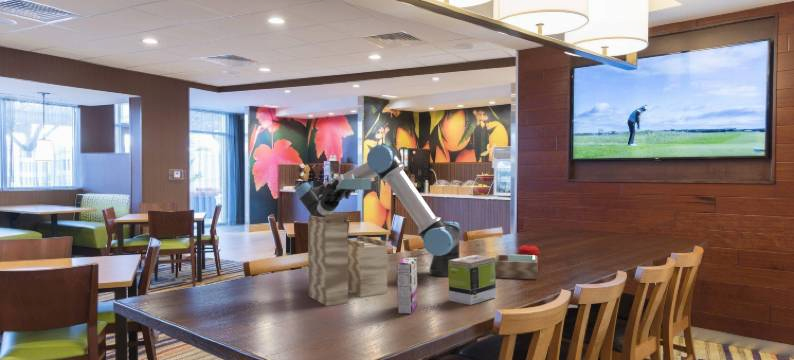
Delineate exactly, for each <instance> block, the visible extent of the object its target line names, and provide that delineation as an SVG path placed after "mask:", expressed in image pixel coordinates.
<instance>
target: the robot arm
mask: <svg viewBox="0 0 794 360" xmlns="http://www.w3.org/2000/svg"><path fill="white" fill-rule="evenodd" d="M402 157H403V156H402V154H401V152H400V150H399V149H398V148H396V147H395V146H392V145H391V146H390V145H386V144H379V145H375V146H373V147H372V148H371V149H370V150H369V151H368V153H367V155H366V162H365V163H363V164H361V165H359V166H357V167H354V168H353V169H351V170H349V171H347V172H345V173H340V174H339V176H337V177H335V178H334V179H337V180H335V181H334V183H332V179H331V180H329V181H327V182H324V183H323V184H320V186H317V187H312V185H311V184H310V183H309V182H304V183H301V184H299V186H298V187H297V188H295V190H294V193H295V195H296V196H297V198H298V199H299V201H300V202H301V203H302V204H303V206H304V207H305V209H306V210H307V211H308V213H309V216H316V217H322V218H325V215H328V214H333V213H334V211H335V210H336V209H337V207H338V206H339V204H340V202H341V201H342V200H343V199H346V200H348V199H349V197H350V195H351V194H352V192H353V191H354V189H337V188H338V187H339V186H340V185H341V183H342V182H343V181H344V179H371V180H372V179H373V178H375V177H377V176H378V177H379V179H380V180H381V182H385V183H387V184H388V186H389V188H391V190H392V191H393V193H394V194H395V196H396V197H397V198H398V200H399V201H400V203H401V205H402V206H403V207H404V208H405V210H406V212H407V213H408V214H409V216H410V217H411V219H412V220H413V221H414V223H415V224H416V226H417V227H418V235H419V236H420V238H421V239H422V242H423V246H424V249H425V250H426V251H427V252H428V253H429V254H430V255H432V256H433V257H432V260H431V262H430V266H429V275H431V276H436V277H449V270H448V260H452V259H457V258H461V255H460V251H461V250H460V231H461V229H460V223H459V222H456V221H444V220H443V219H442V217H440V216H436V215H435V213H434V212H433V211H432V209H431V208H430V206H429V204H428V203H427V202H426V200H425V199H424V198H423V196H422V194H421V193H420V191H418V189H417V188H416V186H415V184H414V183H413V182H412V181H411V179H410V178H409V176H408V175H407V173H406V172H405V170H404V169H405V164H404V163H403V162H402V161H403V158H402Z"/></svg>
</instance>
